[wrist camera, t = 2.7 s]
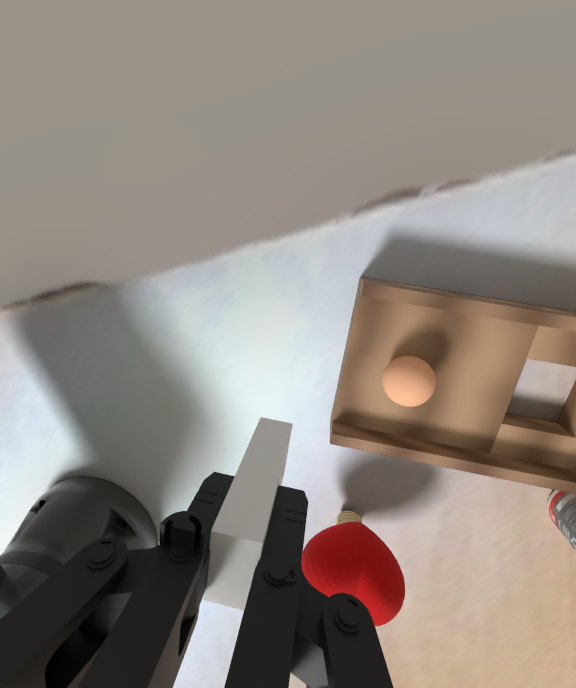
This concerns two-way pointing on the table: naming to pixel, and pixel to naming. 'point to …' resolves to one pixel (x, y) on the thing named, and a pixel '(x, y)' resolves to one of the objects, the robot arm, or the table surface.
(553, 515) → the pill bottle
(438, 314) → the lane
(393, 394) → the ball
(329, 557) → the red heart-shaped lump
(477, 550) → the table surface
